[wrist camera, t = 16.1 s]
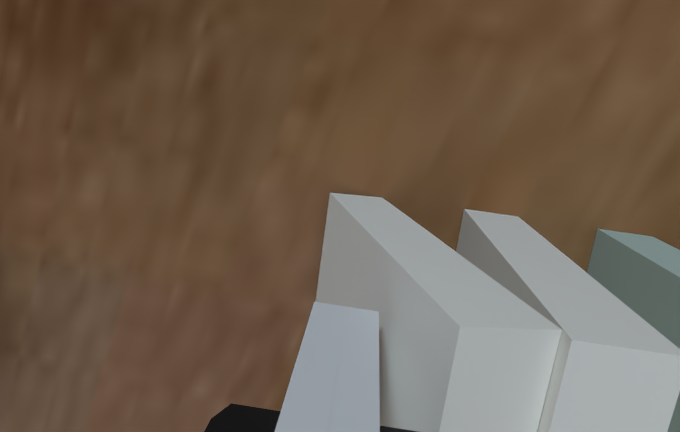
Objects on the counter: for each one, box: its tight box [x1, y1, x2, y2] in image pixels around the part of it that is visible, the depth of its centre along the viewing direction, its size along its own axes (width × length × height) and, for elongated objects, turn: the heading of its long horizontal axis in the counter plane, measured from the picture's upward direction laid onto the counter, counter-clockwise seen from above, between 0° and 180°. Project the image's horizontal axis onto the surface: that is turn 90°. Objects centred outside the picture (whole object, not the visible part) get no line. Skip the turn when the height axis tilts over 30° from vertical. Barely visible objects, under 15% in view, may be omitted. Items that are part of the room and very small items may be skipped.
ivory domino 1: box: [316, 193, 562, 432], centre depth 15 cm, size 2×5×11 cm, turn 172°
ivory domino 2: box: [456, 209, 680, 432], centre depth 15 cm, size 2×5×11 cm, turn 172°
